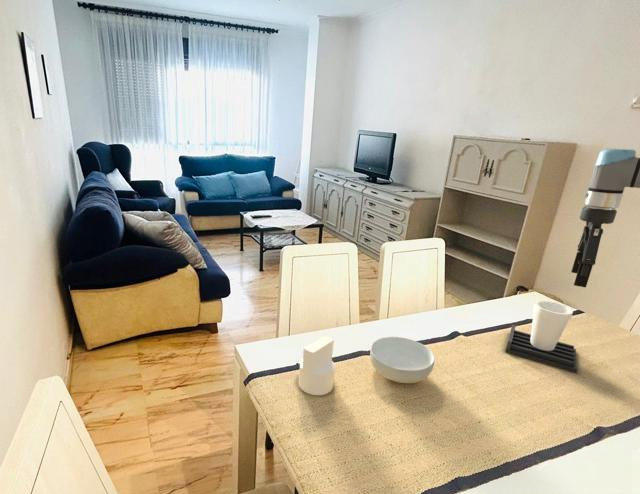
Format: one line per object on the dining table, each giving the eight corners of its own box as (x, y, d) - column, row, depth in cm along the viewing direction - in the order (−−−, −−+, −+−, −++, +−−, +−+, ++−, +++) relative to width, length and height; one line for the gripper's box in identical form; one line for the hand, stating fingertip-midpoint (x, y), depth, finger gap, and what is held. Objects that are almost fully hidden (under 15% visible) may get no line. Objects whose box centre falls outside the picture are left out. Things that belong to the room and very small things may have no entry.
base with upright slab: (319, 400, 94) (322, 358, 90) (291, 384, 100) (293, 343, 96) (339, 384, 101) (344, 344, 96) (312, 369, 106) (315, 331, 102)
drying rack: (574, 352, 120) (578, 341, 119) (576, 373, 110) (580, 361, 108) (509, 334, 130) (512, 324, 129) (505, 352, 119) (508, 341, 118)
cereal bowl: (381, 350, 117) (384, 330, 115) (437, 370, 108) (442, 348, 106) (357, 377, 104) (360, 354, 101) (419, 402, 95) (424, 378, 93)
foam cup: (529, 334, 125) (540, 298, 121) (563, 345, 119) (575, 307, 115) (520, 344, 119) (531, 306, 114) (556, 357, 113) (569, 317, 108)
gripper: (580, 200, 118) (561, 265, 125) (587, 212, 98) (564, 289, 105) (611, 203, 114) (590, 270, 121) (625, 216, 94) (598, 295, 101)
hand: (578, 279), depth 113 cm, fingers open, 13 cm apart
